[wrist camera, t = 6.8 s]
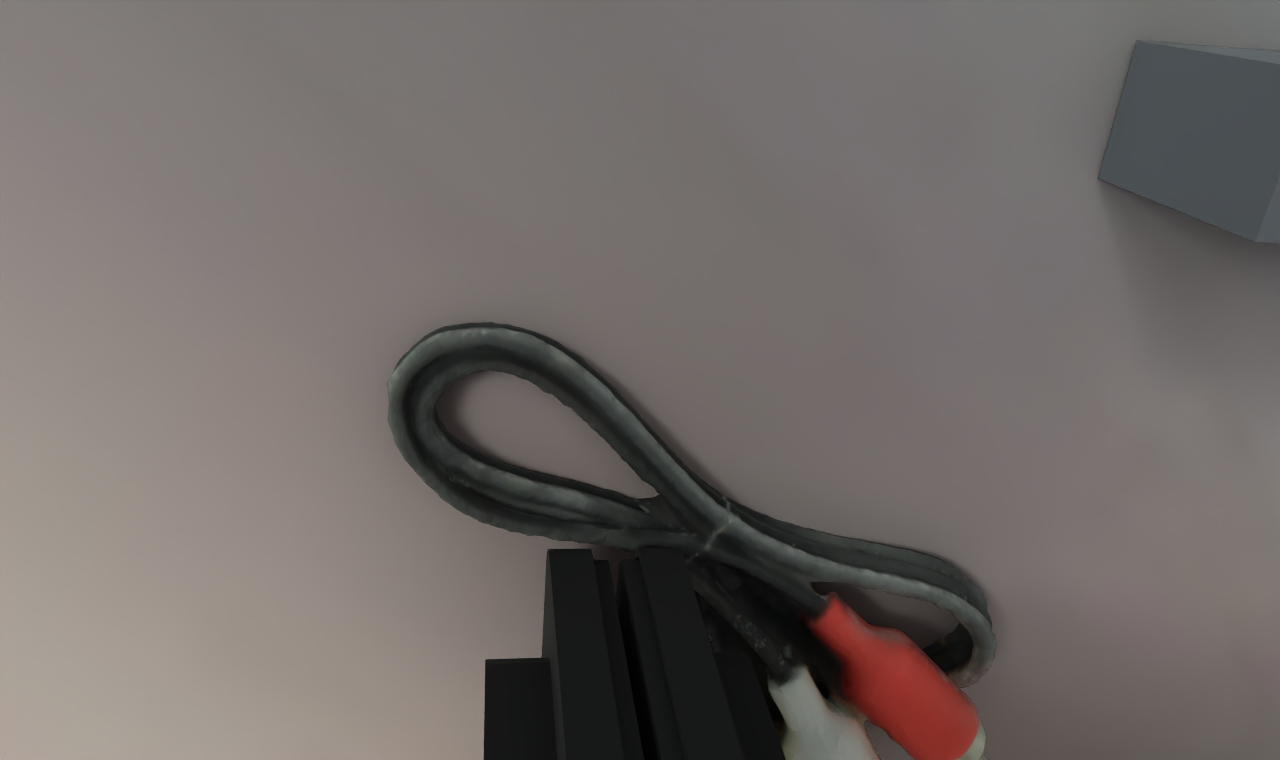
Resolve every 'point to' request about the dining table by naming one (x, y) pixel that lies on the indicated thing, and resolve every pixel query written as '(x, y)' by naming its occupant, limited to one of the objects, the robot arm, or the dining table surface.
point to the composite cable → (717, 559)
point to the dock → (1202, 135)
